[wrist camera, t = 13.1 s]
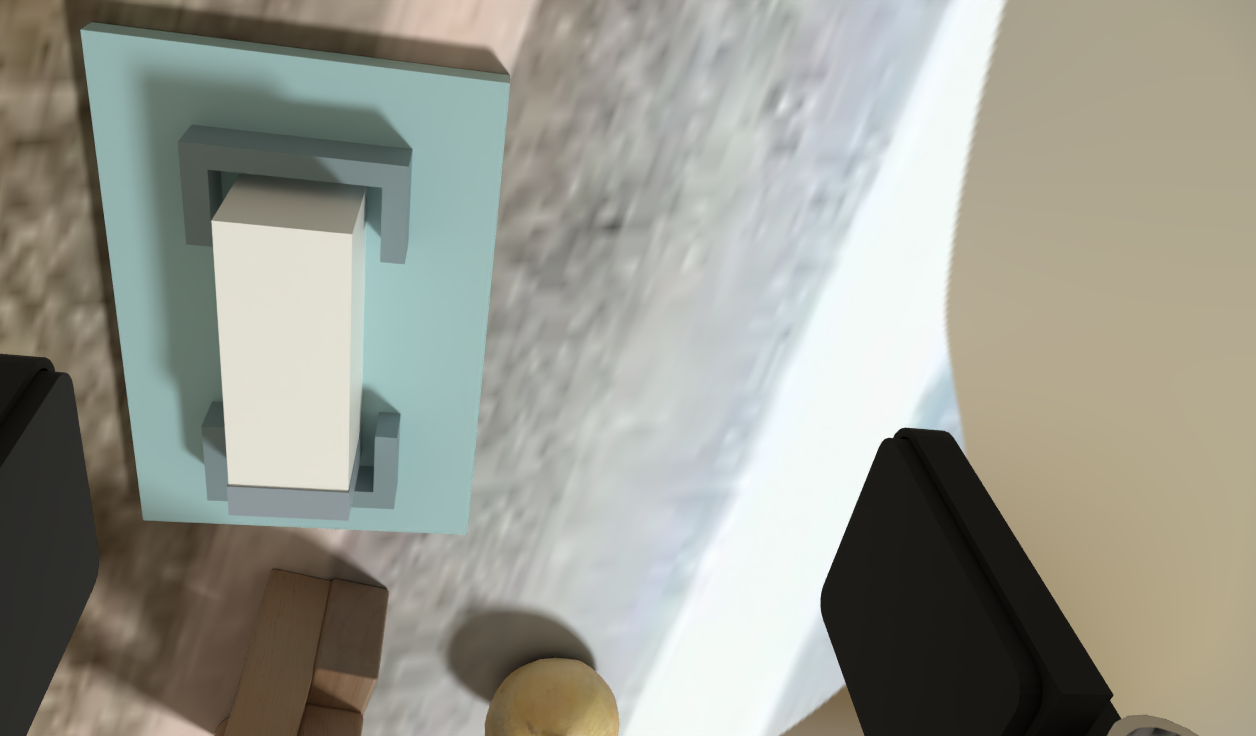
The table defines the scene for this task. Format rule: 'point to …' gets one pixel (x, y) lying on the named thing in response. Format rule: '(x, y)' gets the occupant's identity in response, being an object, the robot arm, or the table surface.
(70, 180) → the table surface
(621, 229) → the table surface
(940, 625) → the robot arm
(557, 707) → the onion
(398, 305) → the cradle
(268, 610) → the wooden toy
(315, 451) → the white pillar block
